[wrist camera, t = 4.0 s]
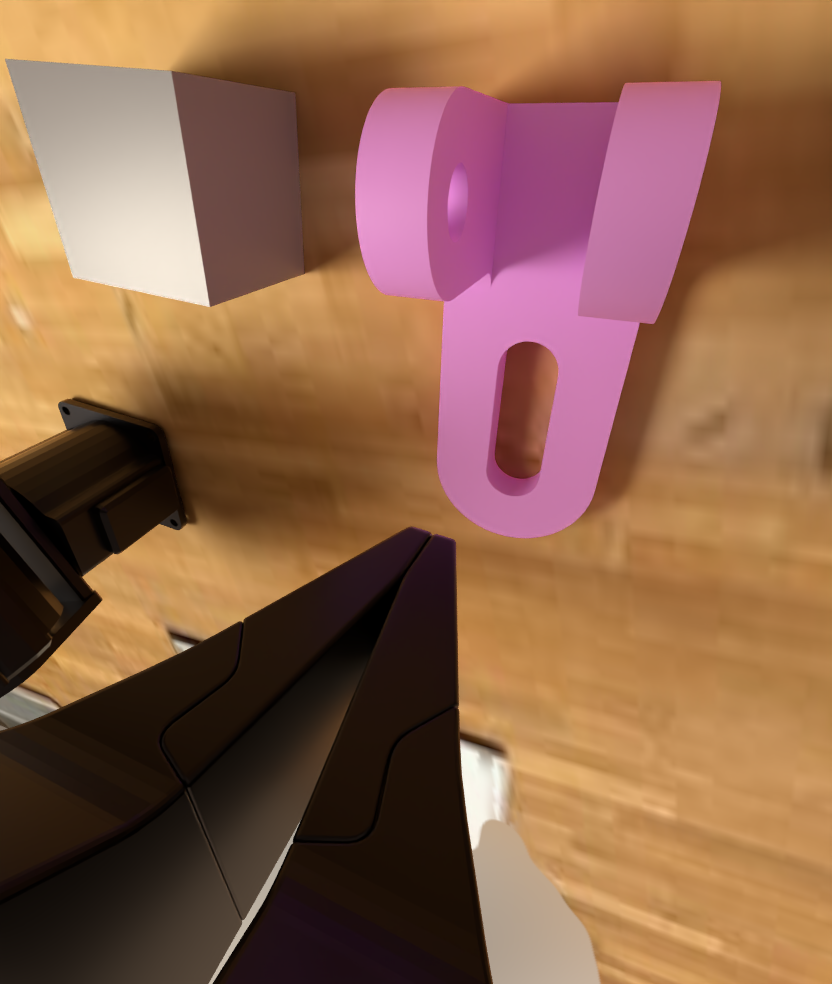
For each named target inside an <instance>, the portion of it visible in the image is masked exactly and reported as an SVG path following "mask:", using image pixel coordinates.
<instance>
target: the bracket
mask: <svg viewBox="0 0 832 984" xmlns="http://www.w3.org/2000/svg"><path fill="white" fill-rule="evenodd" d="M720 93H721V81H685V82H640V83H625V84H624V86H623V89H622V92H621V96H620V99H619V102H598V103H509V104H508V103H506V102H503V101H500V100H498V99H495V98H493V97H490V96H487V95H485V94H482V93H480V92H477V91H474V90H472V89H469V88H466V87H462V86H458V87H412V88H388V89H385V90H384V91H382V92H381V93H380V94H379V95H378V96H377V97H376V99H375V100H374V102H373V104H372V106H371V108H370V110H369V112H368V115H367V117H366V120H365V124H364V127H363V131H362V135H361V139H360V145H359V150H358V158H357V167H356V182H355V206H356V221H357V230H358V238H359V243H360V248H361V253H362V257H363V260H364V263H365V267H366V269H367V272H368V274H369V276H370V278H371V280H372V282H373V284H374V285H375V286H376V288H377V289H378V290H379V291H380V292H382V293H383V294H385V295H392V296H401V297H410V298H419V299H428V300H438V301H444V314H443V336H442V358H441V380H440V402H439V424H438V446H437V469H438V475H439V479H440V482H441V484H442V487H443V489H444V491H445V493H446V495H447V496H448V498H449V500H450V501H451V502H452V503H453V505H454V506H455V507H456V508H457V509H458V510H459V511H460V512H461V513H462V514H463V515H464V516H465V517H466V518H468V519H469V520H470V521H472V522H473V523H475V524H477V525H478V526H480V527H482V528H484V529H486V530H488V531H491V532H493V533H496V534H500V535H504V536H508V537H515V538H535V537H542V536H547V535H550V534H553V533H556V532H558V531H561V530H563V529H564V528H566V527H568V526H569V525H571V524H572V523H574V522H575V521H576V520H577V519H578V518H579V517H580V516H581V515H582V514H583V513H584V512H585V510H586V509H587V507H588V506H589V504H590V502H591V500H592V498H593V495H594V492H595V489H596V485H597V481H598V477H599V474H600V470H601V466H602V462H603V459H604V455H605V451H606V448H607V444H608V440H609V436H610V433H611V429H612V425H613V421H614V418H615V414H616V410H617V406H618V403H619V399H620V395H621V391H622V388H623V384H624V380H625V377H626V373H627V369H628V365H629V362H630V358H631V354H632V350H633V347H634V343H635V339H636V335H637V332H638V328H639V324H640V323H648V324H654V323H655V321H656V320H657V317H658V315H659V313H660V311H661V308H662V306H663V303H664V301H665V298H666V295H667V292H668V290H669V287H670V284H671V281H672V278H673V275H674V272H675V269H676V266H677V263H678V259H679V256H680V253H681V250H682V246H683V243H684V240H685V236H686V233H687V230H688V226H689V223H690V219H691V216H692V212H693V209H694V205H695V201H696V198H697V194H698V190H699V187H700V183H701V179H702V175H703V171H704V168H705V164H706V160H707V156H708V151H709V147H710V143H711V139H712V134H713V130H714V125H715V121H716V116H717V111H718V106H719V100H720ZM526 341H529V342H536V343H539V344H541V345H543V346H545V347H546V348H548V349H549V350H550V351H551V352H552V353H553V355H554V356H555V358H556V360H557V363H558V369H559V374H558V380H557V385H556V391H555V396H554V401H553V407H552V412H551V417H550V423H549V428H548V433H547V439H546V444H545V450H544V455H543V460H542V466H541V471H540V472H539V473H538V474H536V475H535V476H533V477H530V478H525V479H519V478H514V477H511V476H509V475H507V474H505V473H504V472H503V471H502V470H501V469H500V468H499V467H498V465H497V463H496V460H495V446H496V437H497V429H498V421H499V413H500V404H501V396H502V388H503V380H504V371H505V363H506V355H507V350H508V348H509V347H511V346H513V345H514V344H517V343H520V342H526Z"/></svg>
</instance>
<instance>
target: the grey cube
mask: <svg viewBox="0 0 832 984" xmlns="http://www.w3.org/2000/svg"><path fill="white" fill-rule="evenodd" d="M5 61H6V64H7V67H8V70H9V73H10V77H11V80H12V83H13V86H14V90H15V93H16V96H17V99H18V102H19V106H20V109H21V112H22V115H23V118H24V122H25V125H26V128H27V131H28V134H29V138H30V141H31V144H32V147H33V150H34V154H35V157H36V160H37V163H38V166H39V170H40V173H41V176H42V179H43V182H44V186H45V189H46V192H47V195H48V198H49V202H50V205H51V208H52V211H53V215H54V218H55V221H56V224H57V227H58V231H59V234H60V237H61V240H62V243H63V247H64V250H65V253H66V256H67V259H68V263H69V266H70V269H71V272H72V275H73V278H78V279H82V280H87V281H92V282H96V283H101V284H106V285H110V286H115V287H120V288H124V289H129V290H134V291H138V292H143V293H148V294H152V295H157V296H162V297H166V298H171V299H176V300H180V301H185V302H189V303H194V304H199V305H203V306H208V307H211V306H214V305H217V304H220V303H222V302H225V301H228V300H231V299H234V298H237V297H240V296H242V295H245V294H248V293H251V292H254V291H257V290H260V289H262V288H265V287H268V286H271V285H274V284H277V283H279V282H282V281H285V280H288V279H291V278H294V277H297V276H299V275H302V274H305V272H304V253H303V233H302V213H301V194H300V174H299V155H298V135H297V115H296V96H295V93H294V92H289V91H283V90H277V89H271V88H266V87H260V86H254V85H249V84H243V83H237V82H231V81H226V80H220V79H214V78H208V77H203V76H197V75H191V74H186V73H180V72H174V71H164V70H151V69H137V68H123V67H109V66H96V65H82V64H68V63H54V62H41V61H27V60H13V59H5Z"/></svg>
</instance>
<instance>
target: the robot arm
mask: <svg viewBox="0 0 832 984" xmlns="http://www.w3.org/2000/svg"><path fill="white" fill-rule="evenodd" d="M58 407H59V410H60V413H61V415H62V418H63V421H64V423H65V426H66V428H67V430H65V431H63V432H61V433H59V434H57V435H55V436H53V437H51V438H48V439H46V440H44V441H42V442H40V443H38V444H36V445H34V446H32V447H29V448H27V449H25V450H23V451H21V452H19V453H17V454H15V455H13V456H10V457H8V458H6V459H4V460H2V461H0V698H1V697H2V696H4V695H6V694H7V693H9V692H10V691H12V690H13V689H14V688H16V687H17V686H19V685H20V684H21V683H23V682H24V681H25V680H26V679H28V678H29V677H30V676H31V675H32V674H33V673H35V672H36V671H37V670H38V669H39V668H40V667H41V666H42V665H43V664H44V663H45V662H46V660H47V659H48V658H49V657H50V656H51V655H52V654H53V653H54V652H55V651H56V650H57V649H58V648H59V646H60V645H61V644H62V643H63V642H64V641H65V640H66V639H67V638H68V637H69V636H70V635H71V633H72V632H73V631H74V630H75V629H76V628H77V627H78V626H79V625H80V624H81V623H82V622H83V621H84V619H85V618H86V617H87V616H88V615H89V614H90V613H91V612H92V611H93V610H94V609H95V608H96V607H97V605H98V604H99V603H100V602H101V601H102V598H101V597H100V595H99V594H98V593H97V592H96V591H95V590H94V591H93V590H92V589H91V588H90V586H89V585H88V584H87V583H86V582H85V580H84V579H83V578H82V576H84V575H85V574H86V573H88V572H89V571H90V570H92V569H93V568H94V567H96V566H97V565H98V564H100V563H101V562H102V561H104V560H105V559H106V558H108V557H109V556H110V555H112V554H113V553H114V554H120V553H121V552H123V551H124V550H125V549H127V548H128V547H129V546H130V545H132V544H133V543H134V542H136V541H137V540H138V539H140V538H141V537H142V536H144V535H145V534H146V533H148V532H149V531H150V530H152V529H153V528H154V527H156V526H157V525H158V524H161V525H164V526H167V527H170V528H173V529H175V530H180V529H182V528H183V527H184V526H185V525H186V524H187V523H186V518H185V514H184V510H183V505H182V501H181V497H180V493H179V489H178V485H177V481H176V477H175V473H174V469H173V465H172V461H171V457H170V453H169V449H168V445H167V441H166V437H165V434H164V432H163V431H162V429H161V428H160V427H159V426H157V425H155V424H152V423H148V422H145V421H142V420H138V419H135V418H132V417H128V416H125V415H122V414H118V413H115V412H112V411H108V410H105V409H102V408H98V407H95V406H92V405H88V404H85V403H82V402H78V401H75V400H71V399H66V400H64V401H61V402H59V404H58ZM458 706H459V686H458V632H457V577H456V542H455V540H453V539H451V538H447V537H444V536H441V535H438V534H434V535H432V534H431V533H430V532H428V531H425V530H422V529H419V528H416V527H408V528H406V529H404V530H402V531H400V532H399V533H397V534H395V535H393V536H391V537H390V538H388V539H386V540H384V541H382V542H381V543H379V544H377V545H375V546H373V547H372V548H370V549H368V550H366V551H365V552H363V553H361V554H359V555H357V556H356V557H354V558H352V559H350V560H348V561H347V562H345V563H343V564H341V565H340V566H338V567H336V568H334V569H332V570H331V571H329V572H327V573H325V574H323V575H322V576H320V577H318V578H316V579H314V580H313V581H311V582H309V583H307V584H306V585H304V586H302V587H300V588H298V589H297V590H295V591H293V592H291V593H289V594H288V595H286V596H284V597H282V598H281V599H279V600H277V601H275V602H273V603H272V604H270V605H268V606H266V607H264V608H263V609H261V610H259V611H257V612H255V613H254V614H252V615H250V616H248V617H247V618H245V619H244V622H241V621H239V622H237V623H235V624H234V625H232V626H230V627H228V628H227V629H225V630H223V631H221V632H219V633H218V634H216V635H214V636H212V637H210V638H208V639H206V640H204V641H202V642H201V643H199V644H197V645H195V646H193V647H191V648H189V649H187V650H185V651H183V652H181V653H179V654H177V655H175V656H173V657H171V658H169V659H167V660H165V661H162V662H160V663H158V664H156V665H154V666H152V667H150V668H148V669H146V670H144V671H141V672H139V673H137V674H135V675H132V676H130V677H128V678H126V679H124V680H121V681H119V682H117V683H115V684H112V685H110V686H108V687H106V688H104V689H101V690H99V691H97V692H95V693H93V694H90V695H88V696H86V697H84V698H81V699H79V700H77V701H75V702H73V703H70V704H68V705H66V706H64V707H62V708H59V709H57V710H55V711H53V712H50V713H48V714H46V715H43V716H41V717H39V718H36V719H34V720H31V721H29V722H26V723H23V724H20V725H18V726H15V727H12V728H9V729H5V730H2V731H0V984H208V983H209V982H210V980H211V978H212V976H213V974H214V973H215V971H216V969H217V967H218V966H219V963H220V962H221V960H222V959H223V957H224V955H225V953H226V951H227V950H228V948H229V946H230V945H231V943H232V941H233V939H234V937H235V935H236V934H237V932H238V930H239V928H240V927H241V925H242V920H244V919H245V918H246V916H247V914H248V912H249V910H250V909H251V907H252V905H253V903H254V902H255V900H256V898H257V896H258V894H259V893H260V891H261V889H262V887H263V886H264V884H265V882H266V880H267V879H268V877H269V875H270V873H271V872H272V870H273V868H274V866H275V864H276V863H277V861H278V859H279V857H280V856H281V854H282V852H283V850H284V848H285V847H286V845H287V843H288V841H289V840H290V838H291V836H292V834H293V832H294V831H295V829H296V827H297V825H298V824H299V822H300V824H299V826H298V828H297V831H296V833H295V836H294V838H293V844H292V845H291V846H290V848H289V850H288V852H287V855H286V857H285V859H284V862H283V864H282V866H281V868H280V870H279V872H278V875H277V877H276V879H275V881H274V883H273V885H272V887H271V889H270V891H269V893H268V895H267V897H266V899H265V901H264V902H263V904H262V906H261V907H260V909H259V911H258V912H257V914H256V916H255V917H254V919H253V920H252V922H251V924H250V925H249V927H248V928H247V930H246V931H245V933H244V935H243V936H242V938H241V939H240V941H239V943H238V944H237V946H236V947H235V949H234V951H233V952H232V954H231V955H230V957H229V959H228V960H227V962H226V963H225V965H224V966H223V968H222V970H221V971H220V973H219V974H218V976H217V978H216V979H215V981H214V982H213V984H493V982H492V976H491V970H490V965H489V959H488V953H487V947H486V941H485V935H484V929H483V921H482V914H481V908H480V901H479V895H478V888H477V881H476V875H475V868H474V862H473V855H472V848H471V842H470V835H469V828H468V822H467V814H466V806H465V797H464V789H463V781H462V770H461V752H460V727H459V709H458ZM301 818H302V819H301ZM300 820H301V821H300Z"/></svg>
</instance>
